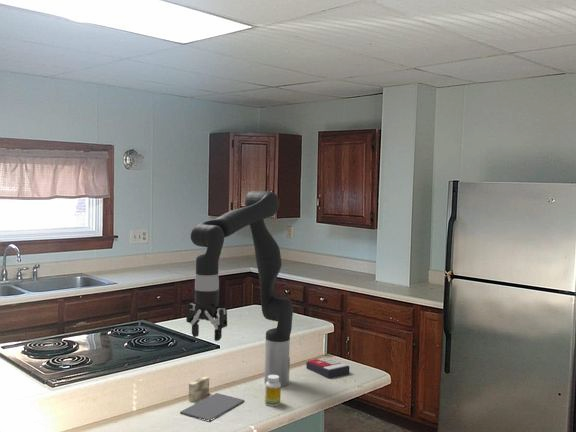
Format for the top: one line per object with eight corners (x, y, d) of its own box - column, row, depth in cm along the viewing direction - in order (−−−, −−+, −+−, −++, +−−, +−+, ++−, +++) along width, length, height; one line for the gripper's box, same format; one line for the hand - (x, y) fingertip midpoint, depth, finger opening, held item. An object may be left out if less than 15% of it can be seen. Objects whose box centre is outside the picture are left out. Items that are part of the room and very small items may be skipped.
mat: (216, 394, 204) (216, 392, 204) (244, 401, 198) (244, 400, 198) (180, 413, 186) (180, 411, 186) (209, 421, 180) (209, 420, 180)
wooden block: (204, 392, 206) (204, 376, 205) (209, 393, 205) (209, 377, 204) (188, 400, 198) (188, 383, 198) (193, 401, 197) (193, 384, 197)
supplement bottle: (262, 401, 198) (263, 374, 198) (276, 399, 200) (277, 373, 200) (268, 407, 193) (269, 379, 193) (282, 405, 196) (283, 378, 195)
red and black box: (326, 356, 242) (349, 364, 230) (326, 366, 242) (349, 374, 230) (305, 360, 236) (329, 368, 224) (305, 370, 236) (329, 379, 224)
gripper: (232, 288, 179) (231, 339, 180) (196, 283, 185) (195, 332, 187) (218, 292, 172) (217, 345, 173) (181, 287, 179) (181, 337, 180)
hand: (206, 338), depth 180 cm, fingers open, 8 cm apart
